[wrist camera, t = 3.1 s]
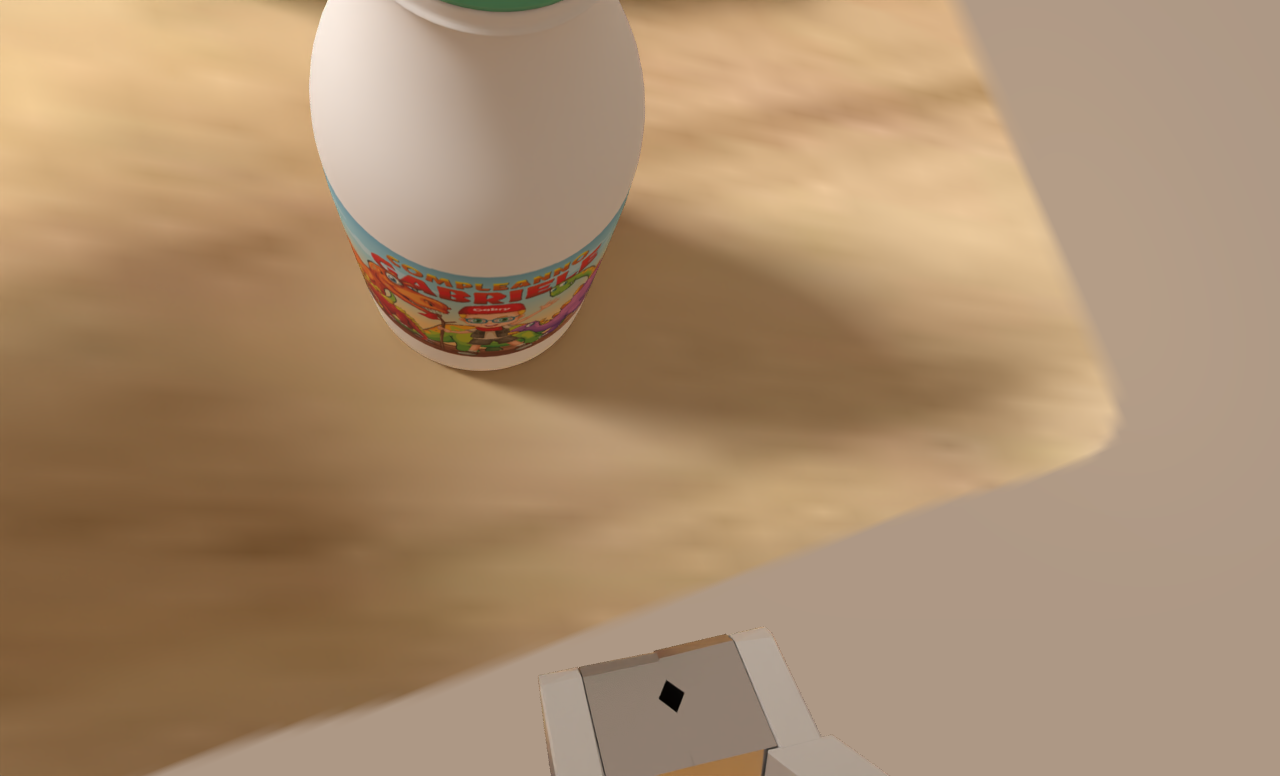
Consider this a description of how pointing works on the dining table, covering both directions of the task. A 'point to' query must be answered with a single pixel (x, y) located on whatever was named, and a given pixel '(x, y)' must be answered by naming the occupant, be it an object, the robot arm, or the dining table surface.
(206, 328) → the dining table surface
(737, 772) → the robot arm
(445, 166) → the milk bottle
